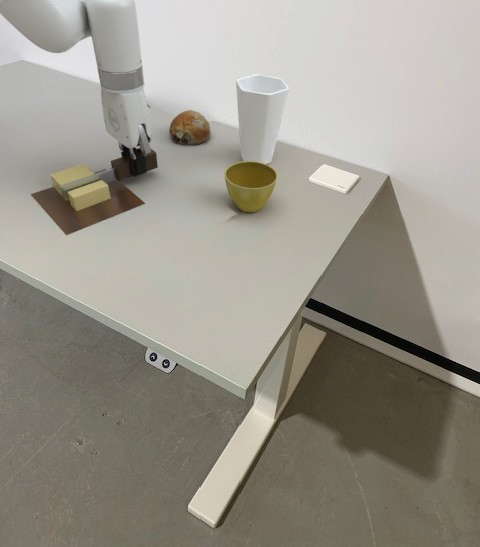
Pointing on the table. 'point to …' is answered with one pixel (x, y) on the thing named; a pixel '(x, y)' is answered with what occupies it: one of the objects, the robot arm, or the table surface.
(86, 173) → the butter block
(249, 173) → the flower pot
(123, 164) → the knife
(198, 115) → the bread roll
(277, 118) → the cup
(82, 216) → the board
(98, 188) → the butter slice
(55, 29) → the robot arm
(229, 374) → the table surface
